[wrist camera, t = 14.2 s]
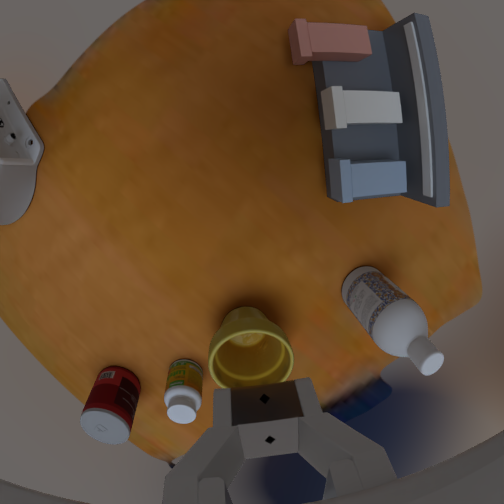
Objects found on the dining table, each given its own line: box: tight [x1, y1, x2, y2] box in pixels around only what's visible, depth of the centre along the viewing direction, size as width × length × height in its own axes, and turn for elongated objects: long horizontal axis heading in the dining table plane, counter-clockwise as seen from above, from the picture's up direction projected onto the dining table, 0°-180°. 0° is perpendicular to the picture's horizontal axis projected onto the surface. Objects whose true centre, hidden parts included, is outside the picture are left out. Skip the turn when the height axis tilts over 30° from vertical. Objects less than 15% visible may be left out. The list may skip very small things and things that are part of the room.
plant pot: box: [208, 307, 294, 388], centre depth 42 cm, size 10×10×10 cm
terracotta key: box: [288, 19, 372, 65], centre depth 30 cm, size 8×5×4 cm, turn 97°
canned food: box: [80, 366, 140, 444], centre depth 43 cm, size 8×8×11 cm
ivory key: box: [321, 86, 403, 130], centre depth 32 cm, size 8×5×4 cm, turn 97°
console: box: [312, 13, 450, 207], centre depth 33 cm, size 11×22×12 cm, turn 7°
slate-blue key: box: [328, 158, 407, 203], centre depth 35 cm, size 8×5×4 cm, turn 97°
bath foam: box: [342, 266, 444, 375], centre depth 37 cm, size 7×7×20 cm
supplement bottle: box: [164, 359, 203, 424], centre depth 43 cm, size 5×5×10 cm
